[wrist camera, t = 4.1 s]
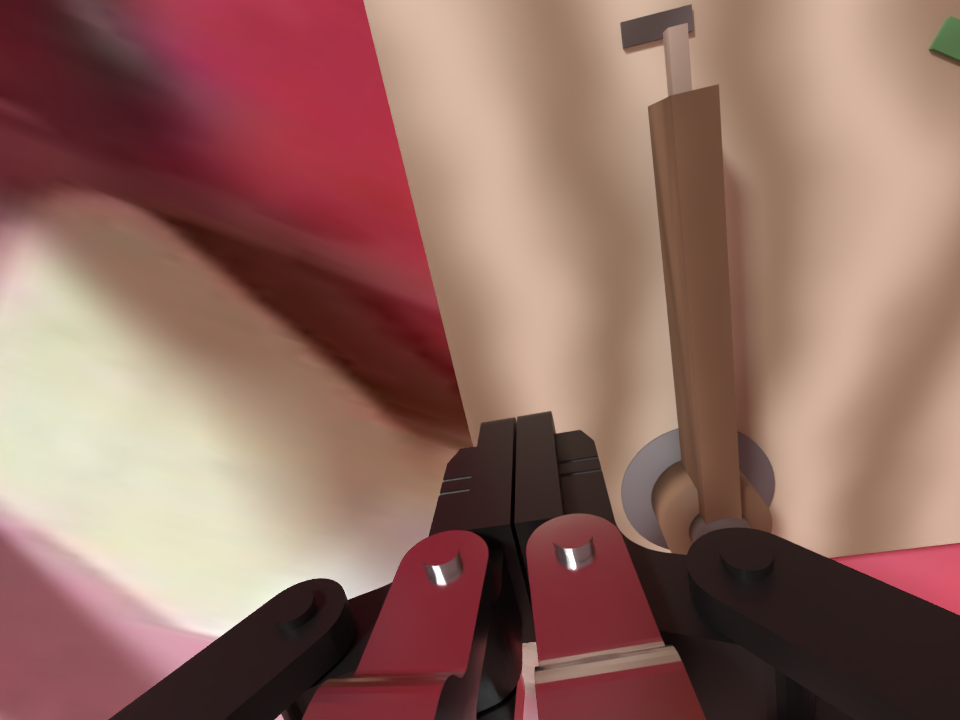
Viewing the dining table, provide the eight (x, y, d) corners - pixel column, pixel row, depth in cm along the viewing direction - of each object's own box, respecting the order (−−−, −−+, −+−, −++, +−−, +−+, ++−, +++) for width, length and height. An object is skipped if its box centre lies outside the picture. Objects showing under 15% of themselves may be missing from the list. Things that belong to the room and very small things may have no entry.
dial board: (510, 574, 29) (509, 598, 27) (371, 2, 20) (359, -13, 18) (1026, 511, 26) (1060, 534, 24) (1146, -216, 16) (1213, -257, 15)
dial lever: (655, 540, 25) (674, 590, 22) (597, 56, 18) (613, 33, 15) (750, 528, 25) (782, 578, 22) (726, 23, 18) (769, -7, 15)
